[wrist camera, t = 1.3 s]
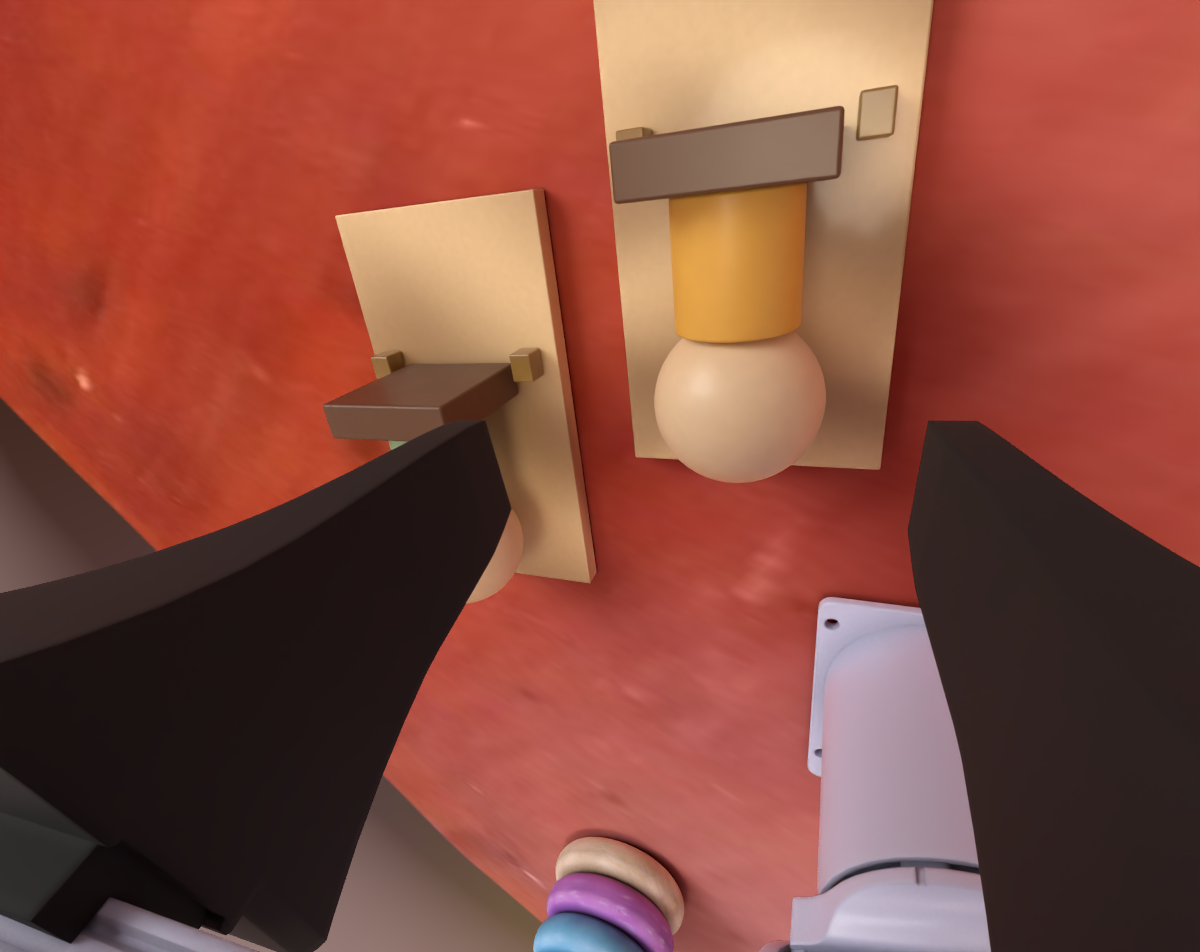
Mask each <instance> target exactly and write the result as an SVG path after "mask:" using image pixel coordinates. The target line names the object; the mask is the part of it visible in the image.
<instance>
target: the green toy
mask: <svg viewBox="0 0 1200 952" xmlns="http://www.w3.org/2000/svg"><path fill="white" fill-rule="evenodd" d="M516 395H518V388H517V382H514V380H513V374H512V369H511V363H476V364H410V365H407V366H405V367H403V368H401V369H399V370H397V371H395V372H392V373H390V374H388V375H386V376H384V377H382V378H380V379H377V380H375V381H373V382H371V383H369V384H367V385H365V386H362V387H360V388H358V389H356V390H354V391H352V392H350V393H347V394H345V395H343V396H341V397H339V398H337V399H335V400H332V401H330V402H328V403H326V404H324V405H323V408H324V411H325V414H326V417H327V420H328V423H329V426H330V429H331V432H332V435H333V437H334V438H342V439H363V440H383V441H388V442H389V445H390V448H391V450H393V449H395V448H397V447H399V446H401V445H403V444H404V443H406V442H408V441H410V440H412V439H414V438H416V437H418V436H420V435H422V434H424V433H426V432H429V431H431V430H433V429H435V428H437V427H440V426H442V425H444V424H447V423H450V422H453V421H456V420H483V419H484V418H485V417H487V416H488V415H490V414H491V413H492V412H494V411H495V410H497V409H498V408H499V407H501V406H502V405H504V404H505V403H506V402H508V401H509V400H511V399H512V398H513V397H515V396H516ZM511 508H512V507H511ZM522 553H523V532H522V528H521V524H520V521H519V519H518V517H517V515H516V513H515V512H514V510H513V509H512V510H511V512H510V515H509V518H508V520H507V523H506V526H505V529H504V531H503V534H502V536H501V539H500V541H499V544H498V546H497V548H496V551H495V553H494V555H493V557H492V559H491V560H490V562H489V564H488V566H487V568H486V569H485V571H484V573H483V575H482V576H481V578H480V580H479V582H478V583H477V585H476V587H475V589H474V590H473V592H472V594H471V596H470V597H469V599H468V601H467V602H466V603H472V602H477V601H480V600H483V599H486V598H488V597H490V596H492V595H493V594H495V593H496V592H498V591H499V590H500V589H502V588H503V587H504V586H505V585H506V584H507V583H508V582H509V581H510V579H511V578H512V577H513V575H514V574H515V572H516V570H517V568H518V566H519V563H520V561H521V557H522Z"/></svg>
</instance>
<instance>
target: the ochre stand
mask: <svg viewBox="0 0 1200 952" xmlns="http://www.w3.org/2000/svg"><path fill="white" fill-rule="evenodd" d="M593 1H594V12H595V23H596V34H597V45H598V56H599V66H600V77H601V88H602V99H603V110H604V121H605V131H606V142H607V153H608V164H609V175H610V186H611V196H612V207H613V218H614V229H615V240H616V251H617V261H618V272H619V283H620V294H621V305H622V316H623V327H624V337H625V348H626V359H627V370H628V381H629V392H630V402H631V413H632V424H633V435H634V446H635V456H636V457H640V458H660V459H678V458H677V457H676V456H675V455H674V454H673V453H672V451H671V450H670V449H669V447H668V446H667V444H666V443H665V441H664V439H663V437H662V435H661V433H660V430H659V428H658V424H657V420H656V415H655V408H654V395H655V387H656V383H657V379H658V375H659V372H660V370H661V367H662V365H663V363H664V361H665V360H666V358H667V356H668V355H669V353H670V352H671V350H672V349H673V348H674V347H675V345H676V344H677V343H678V342H679V341H680V340H681V339H682V337H680V336H678V335H677V333H676V331H675V317H674V298H673V280H672V261H671V242H670V224H669V205H668V200H669V198H668V199H659V200H650V201H642V202H633V203H625V204H616V203H615V202H614V196H613V185H612V174H611V163H610V153H609V144H610V143H611V142H613V141H619V140H626V139H632V138H638V137H645V136H651V135H657V134H664V133H670V132H676V131H683V130H689V129H695V128H701V127H708V126H714V125H720V124H727V123H733V122H739V121H746V120H752V119H758V118H765V117H771V116H777V115H784V114H790V113H796V112H803V111H809V110H815V109H822V108H828V107H834V106H843V107H844V110H845V114H844V132H843V147H842V163H841V174H840V176H839V177H838V178H836V179H831V180H823V181H814V182H806V183H807V198H806V222H805V246H804V269H803V293H802V317H801V324H800V326H799V327H798V328H797V329H796V330H794V332H795V333H796V334H797V335H799V336H800V337H801V338H802V339H803V340H804V341H805V343H806V344H807V345H808V346H809V347H810V349H811V350H812V352H813V353H814V354H815V356H816V358H817V360H818V362H819V364H820V366H821V370H822V373H823V376H824V382H825V388H826V405H825V412H824V416H823V419H822V423H821V426H820V429H819V431H818V433H817V435H816V437H815V439H814V440H813V442H812V443H811V445H810V446H809V448H808V449H807V450H806V451H805V452H804V454H803V455H802V456H801V457H800V458H799V459H798V460H797V461H795V462H794V463H793V464H792V465H796V466H815V467H835V468H854V469H874V470H879V469H880V467H881V458H882V450H883V441H884V432H885V423H886V415H887V406H888V397H889V388H890V380H891V371H892V362H893V353H894V345H895V336H896V327H897V318H898V310H899V301H900V292H901V283H902V275H903V266H904V257H905V248H906V240H907V231H908V222H909V214H910V205H911V196H912V187H913V179H914V170H915V161H916V152H917V144H918V135H919V126H920V117H921V109H922V100H923V91H924V82H925V74H926V65H927V56H928V47H929V39H930V30H931V21H932V12H933V4H934V0H593Z"/></svg>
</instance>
